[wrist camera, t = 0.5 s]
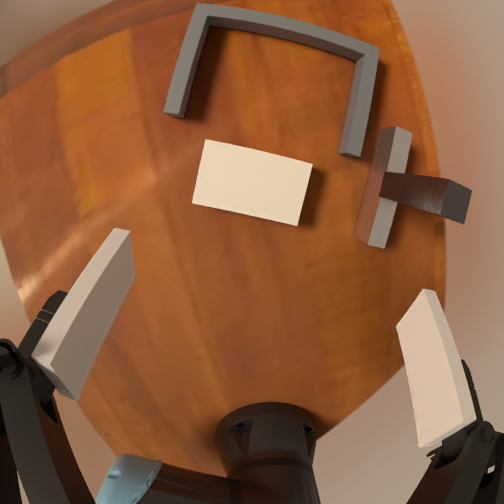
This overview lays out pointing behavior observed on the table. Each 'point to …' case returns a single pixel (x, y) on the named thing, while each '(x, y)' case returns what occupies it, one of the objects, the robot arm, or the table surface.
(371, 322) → the table surface
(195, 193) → the cream tile
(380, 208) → the grey inverted t block
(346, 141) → the frame
